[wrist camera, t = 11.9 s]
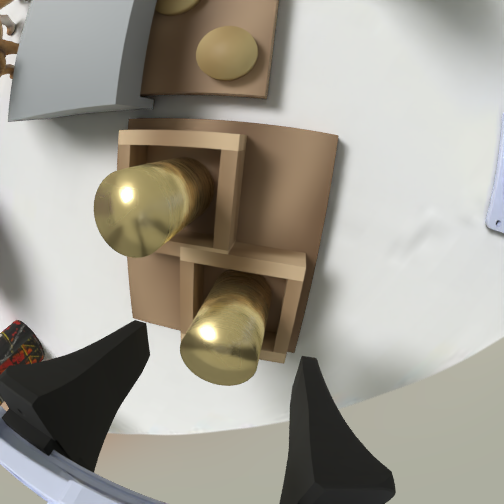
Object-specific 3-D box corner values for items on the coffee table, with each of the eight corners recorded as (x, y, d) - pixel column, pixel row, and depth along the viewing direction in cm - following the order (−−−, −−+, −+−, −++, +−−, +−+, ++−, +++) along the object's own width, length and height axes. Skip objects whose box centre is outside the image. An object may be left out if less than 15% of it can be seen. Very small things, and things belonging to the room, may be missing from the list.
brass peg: (272, 319, 18) (258, 388, 13) (217, 316, 19) (187, 380, 13) (271, 268, 17) (255, 329, 12) (211, 266, 18) (173, 323, 12)
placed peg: (216, 159, 15) (171, 171, 10) (211, 222, 17) (168, 264, 11) (157, 155, 16) (93, 167, 10) (155, 214, 17) (96, 250, 12)
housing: (179, -35, 11) (154, -63, 7) (152, 108, 15) (115, 104, 11) (69, -3, 12) (37, -15, 8) (46, 118, 16) (7, 121, 12)
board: (282, -28, 11) (280, -40, 10) (266, 99, 14) (263, 94, 13) (160, -20, 12) (149, -30, 10) (137, 96, 15) (124, 93, 14)
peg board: (336, 135, 15) (344, 134, 12) (294, 345, 20) (293, 372, 17) (135, 119, 16) (109, 118, 13) (137, 312, 21) (120, 332, 19)
